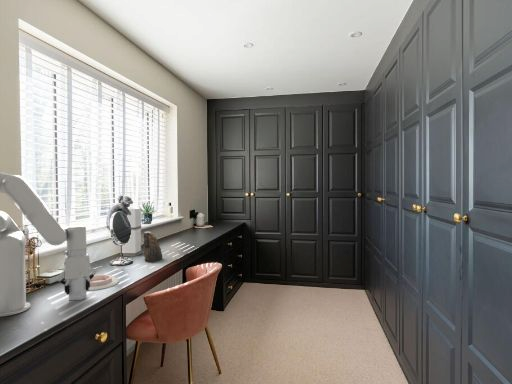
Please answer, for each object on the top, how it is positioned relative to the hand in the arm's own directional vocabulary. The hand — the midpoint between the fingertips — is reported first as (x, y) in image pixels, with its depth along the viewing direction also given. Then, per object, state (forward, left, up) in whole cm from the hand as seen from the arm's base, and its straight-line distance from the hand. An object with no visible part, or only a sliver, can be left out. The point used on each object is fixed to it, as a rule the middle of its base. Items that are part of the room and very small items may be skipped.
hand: (77, 291), depth 136 cm
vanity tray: (+13, +16, -3) cm, 21 cm away
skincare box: (0, 0, -4) cm, 4 cm away
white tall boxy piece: (+53, +75, -4) cm, 92 cm away
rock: (+57, +46, -4) cm, 73 cm away
